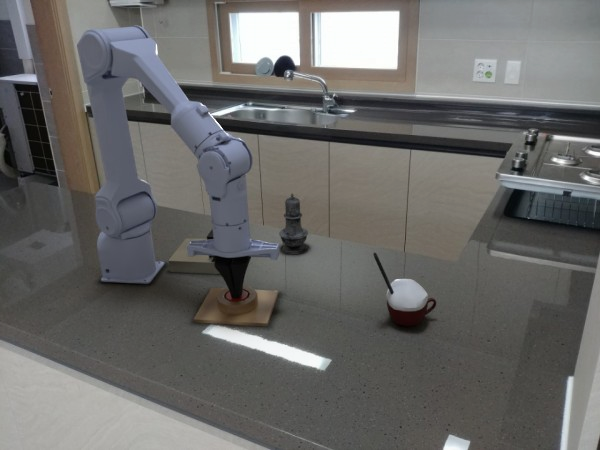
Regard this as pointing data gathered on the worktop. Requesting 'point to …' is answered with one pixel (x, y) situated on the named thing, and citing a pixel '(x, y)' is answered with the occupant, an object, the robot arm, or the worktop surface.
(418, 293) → the cocoa
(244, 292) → the button
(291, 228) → the salt shaker
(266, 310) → the button block
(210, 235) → the knob
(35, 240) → the worktop surface
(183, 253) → the panel
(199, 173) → the robot arm
